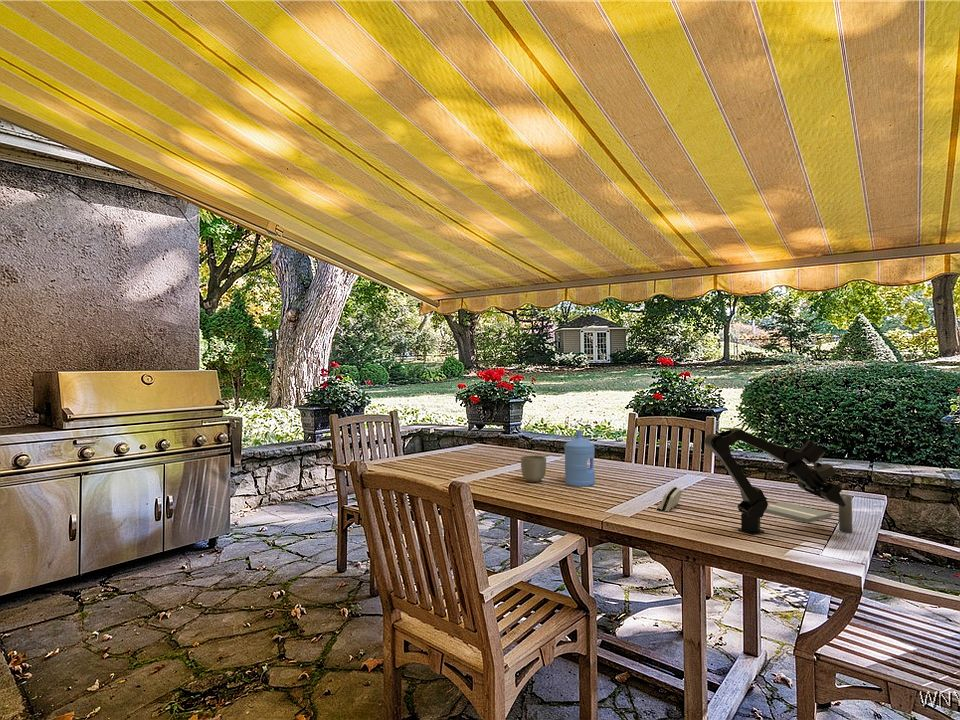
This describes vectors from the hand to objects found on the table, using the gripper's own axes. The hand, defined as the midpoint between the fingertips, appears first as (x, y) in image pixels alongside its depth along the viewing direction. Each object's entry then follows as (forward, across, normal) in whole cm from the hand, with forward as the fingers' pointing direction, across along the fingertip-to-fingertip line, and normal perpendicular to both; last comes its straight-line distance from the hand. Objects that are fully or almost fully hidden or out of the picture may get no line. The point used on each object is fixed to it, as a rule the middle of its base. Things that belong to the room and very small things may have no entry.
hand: (836, 502), depth 190 cm
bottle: (+10, 0, +5) cm, 11 cm away
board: (+6, +23, +9) cm, 26 cm away
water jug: (-51, +80, +65) cm, 115 cm away
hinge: (-28, +33, +42) cm, 61 cm away
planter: (-68, +86, +82) cm, 137 cm away
